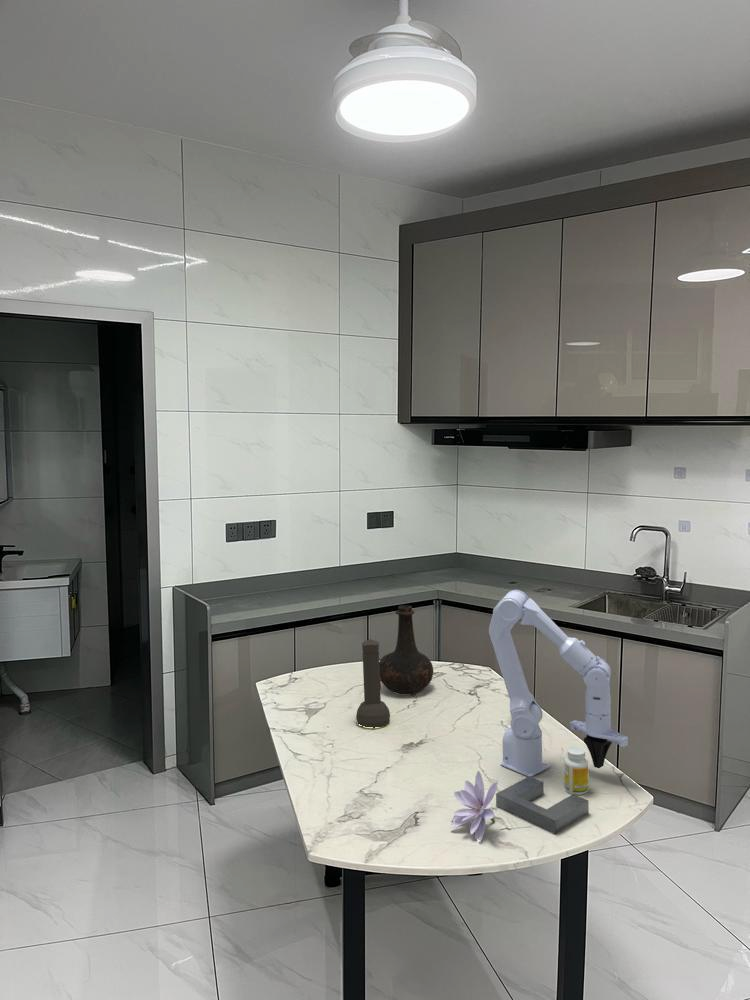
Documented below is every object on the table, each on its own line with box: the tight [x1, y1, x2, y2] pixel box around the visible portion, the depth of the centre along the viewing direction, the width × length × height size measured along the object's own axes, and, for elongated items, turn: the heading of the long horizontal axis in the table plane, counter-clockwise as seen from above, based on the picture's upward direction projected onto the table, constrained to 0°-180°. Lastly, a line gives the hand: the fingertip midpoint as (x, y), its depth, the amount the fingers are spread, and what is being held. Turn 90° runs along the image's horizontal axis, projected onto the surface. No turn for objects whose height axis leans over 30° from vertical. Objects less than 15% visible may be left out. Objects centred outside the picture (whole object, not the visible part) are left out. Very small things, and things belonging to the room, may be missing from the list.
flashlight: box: [355, 638, 391, 728], centre depth 217 cm, size 10×25×10 cm
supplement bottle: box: [563, 746, 589, 796], centre depth 174 cm, size 5×5×10 cm
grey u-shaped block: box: [495, 776, 590, 835], centre depth 166 cm, size 16×12×3 cm
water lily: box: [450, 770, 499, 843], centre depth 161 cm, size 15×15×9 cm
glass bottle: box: [379, 604, 434, 695], centre depth 243 cm, size 18×18×28 cm
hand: (598, 766), depth 180 cm, fingers closed
